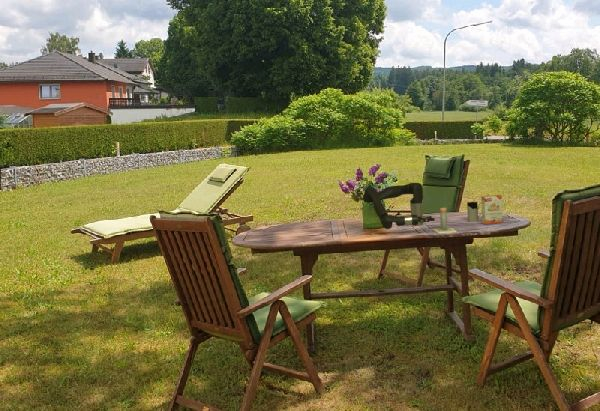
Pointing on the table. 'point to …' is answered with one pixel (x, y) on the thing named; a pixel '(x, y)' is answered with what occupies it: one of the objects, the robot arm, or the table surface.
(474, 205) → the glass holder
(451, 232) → the paper sheet
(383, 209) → the robot arm
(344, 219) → the table surface
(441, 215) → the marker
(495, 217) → the cracker box
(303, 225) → the table surface
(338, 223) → the table surface
